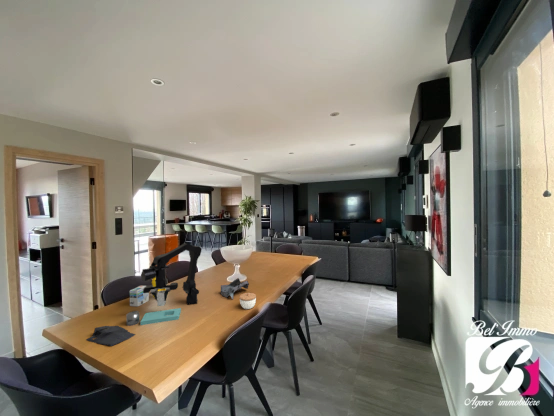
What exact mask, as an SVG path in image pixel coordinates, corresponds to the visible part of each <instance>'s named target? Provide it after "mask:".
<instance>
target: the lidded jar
mask: <svg viewBox="0 0 554 416" xmlns="http://www.w3.org/2000/svg"><path fill="white" fill-rule="evenodd" d="M256 302H257V294H255V293H253V292H246V293H244V292H243V293H242V294H240V295H239V303H240V306H241V307H242V309H244V310H250V309H253V308H254V307H255V305H256Z"/></svg>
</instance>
